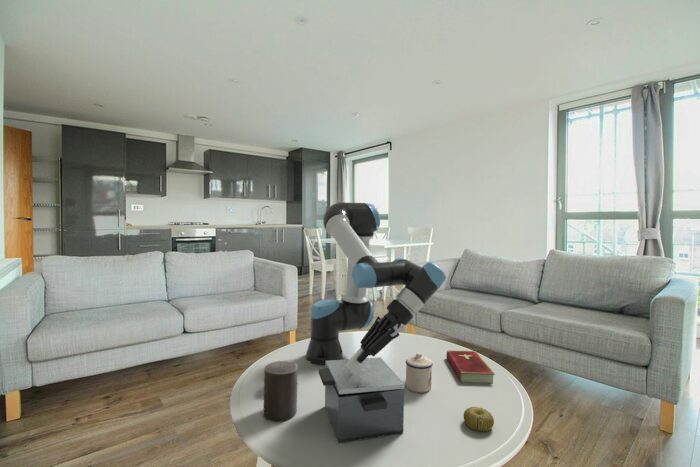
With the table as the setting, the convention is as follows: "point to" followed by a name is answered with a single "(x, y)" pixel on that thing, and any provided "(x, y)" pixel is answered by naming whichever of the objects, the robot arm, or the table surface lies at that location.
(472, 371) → the hardcover book
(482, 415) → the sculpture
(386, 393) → the grey storage box
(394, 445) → the table surface
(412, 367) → the teacup with lid
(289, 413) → the pillar candle
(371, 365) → the lid
